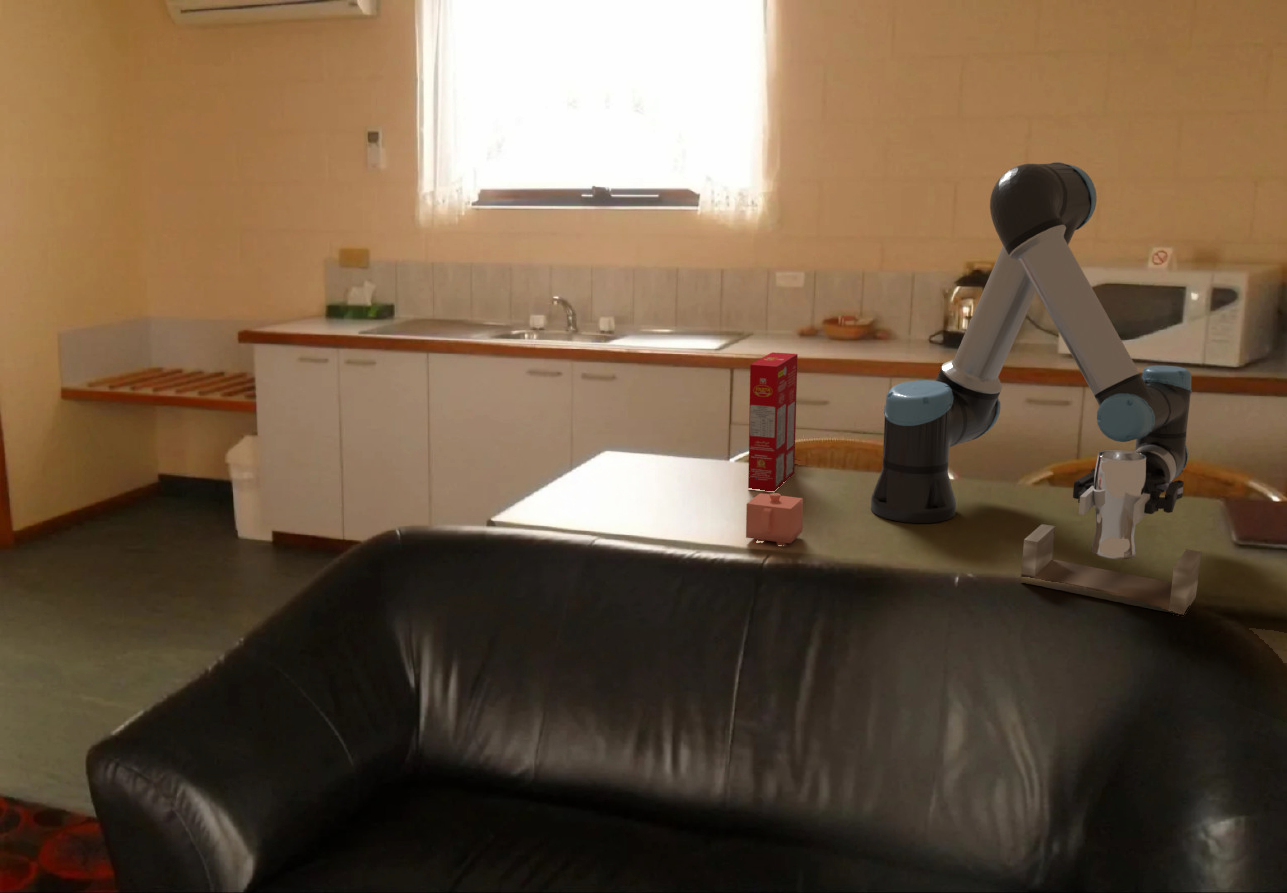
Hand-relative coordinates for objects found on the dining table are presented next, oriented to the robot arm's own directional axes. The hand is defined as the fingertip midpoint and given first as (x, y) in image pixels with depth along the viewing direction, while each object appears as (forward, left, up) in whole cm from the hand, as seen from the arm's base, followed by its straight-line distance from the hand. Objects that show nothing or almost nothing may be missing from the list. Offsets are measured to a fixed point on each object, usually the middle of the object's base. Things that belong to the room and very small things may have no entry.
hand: (1108, 509), depth 163 cm
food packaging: (-64, +40, -14) cm, 77 cm away
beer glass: (+1, +5, -8) cm, 10 cm away
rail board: (+1, +5, -14) cm, 15 cm away
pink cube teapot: (-52, +7, -14) cm, 55 cm away
